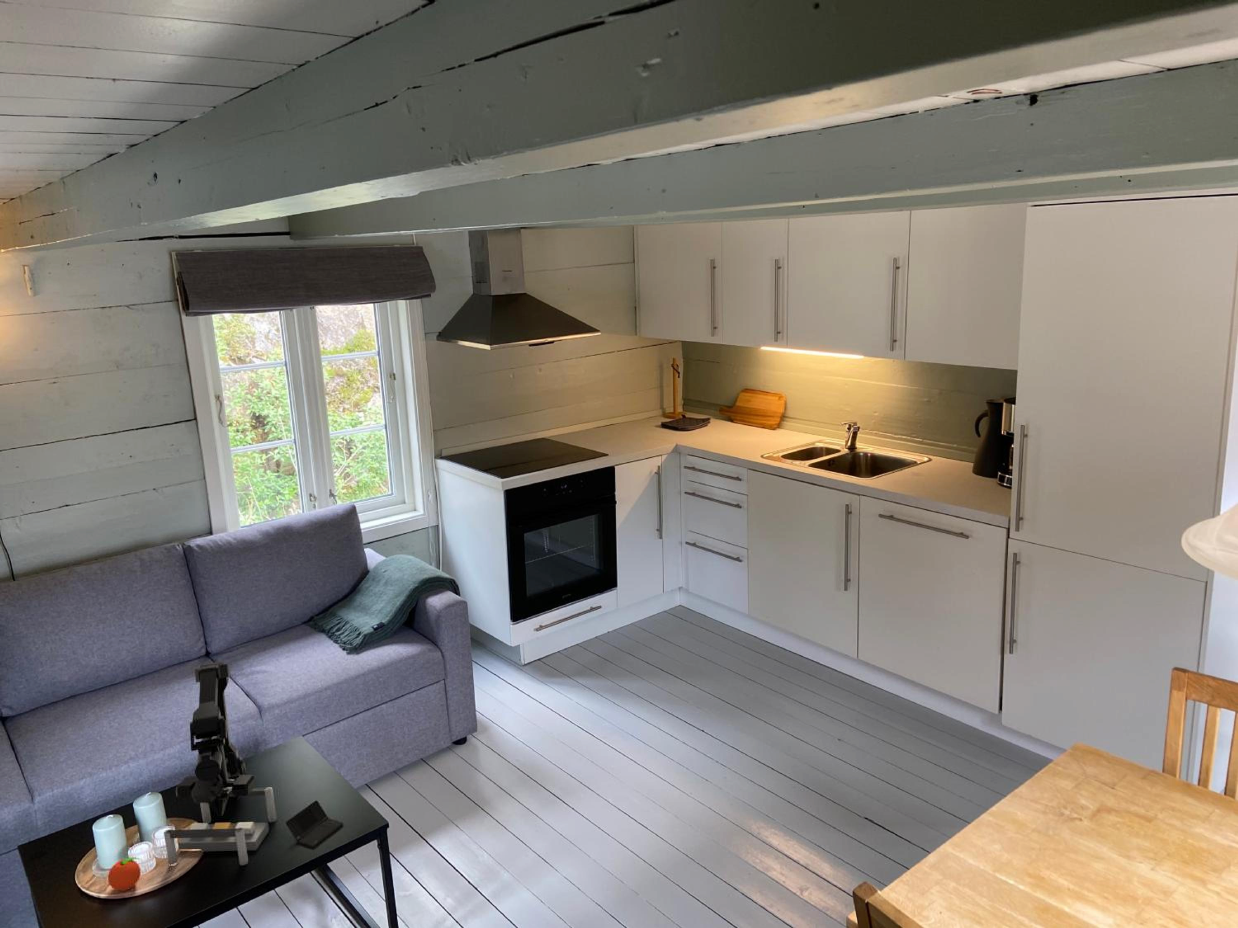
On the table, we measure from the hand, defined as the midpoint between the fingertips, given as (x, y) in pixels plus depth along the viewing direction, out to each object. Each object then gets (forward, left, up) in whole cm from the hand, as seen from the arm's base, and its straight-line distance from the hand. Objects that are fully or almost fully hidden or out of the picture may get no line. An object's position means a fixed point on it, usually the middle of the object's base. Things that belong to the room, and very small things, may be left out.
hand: (221, 815), depth 235 cm
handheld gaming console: (-3, +23, -8) cm, 25 cm away
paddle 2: (0, +6, -5) cm, 8 cm away
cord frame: (0, 0, -8) cm, 8 cm away
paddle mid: (0, 0, -5) cm, 5 cm away
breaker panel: (0, 0, -8) cm, 8 cm away
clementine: (+17, -16, -8) cm, 25 cm away
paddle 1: (0, -6, -5) cm, 8 cm away
